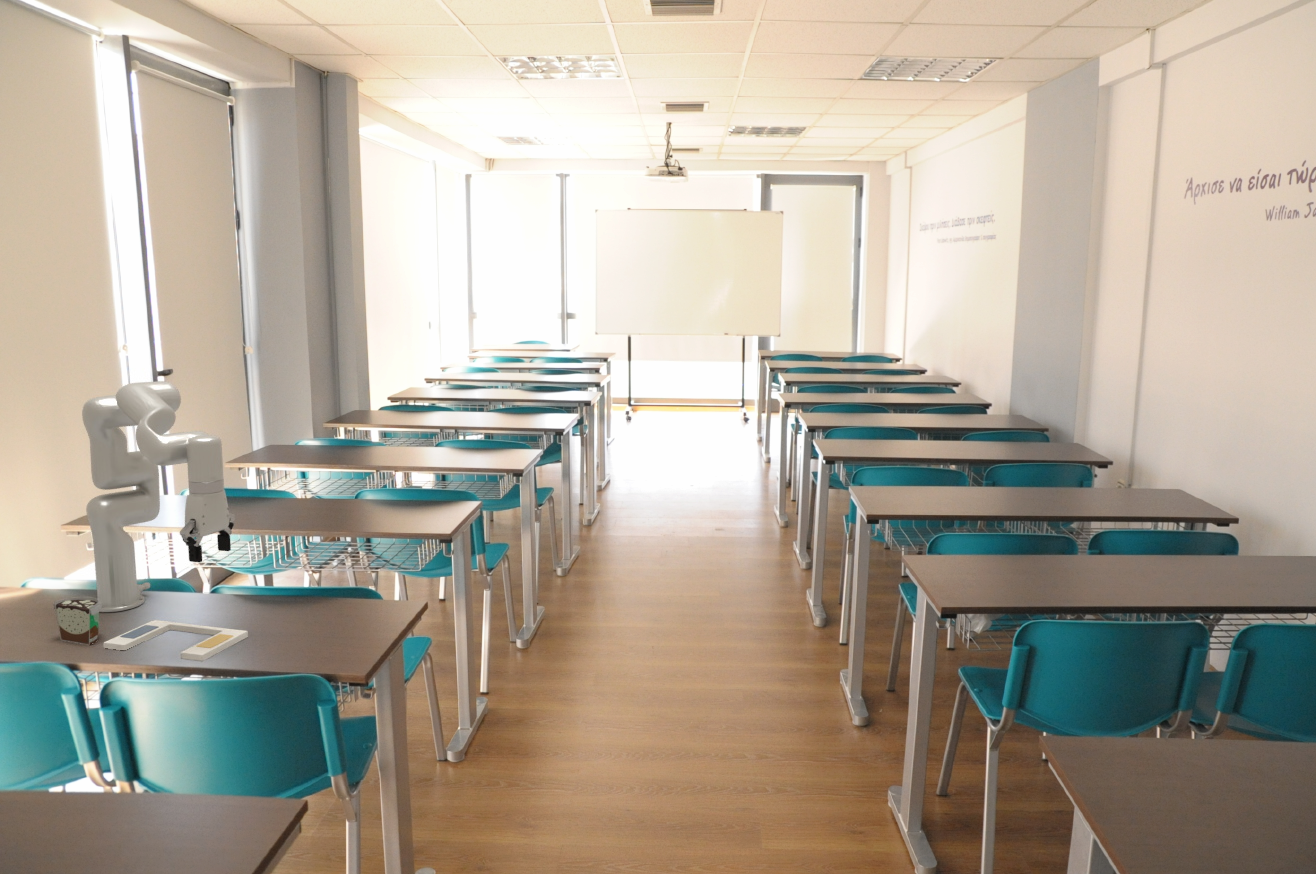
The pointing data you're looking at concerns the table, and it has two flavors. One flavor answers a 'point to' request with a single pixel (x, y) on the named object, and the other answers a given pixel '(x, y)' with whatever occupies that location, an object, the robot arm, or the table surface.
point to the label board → (197, 652)
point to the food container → (78, 619)
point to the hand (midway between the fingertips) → (210, 556)
